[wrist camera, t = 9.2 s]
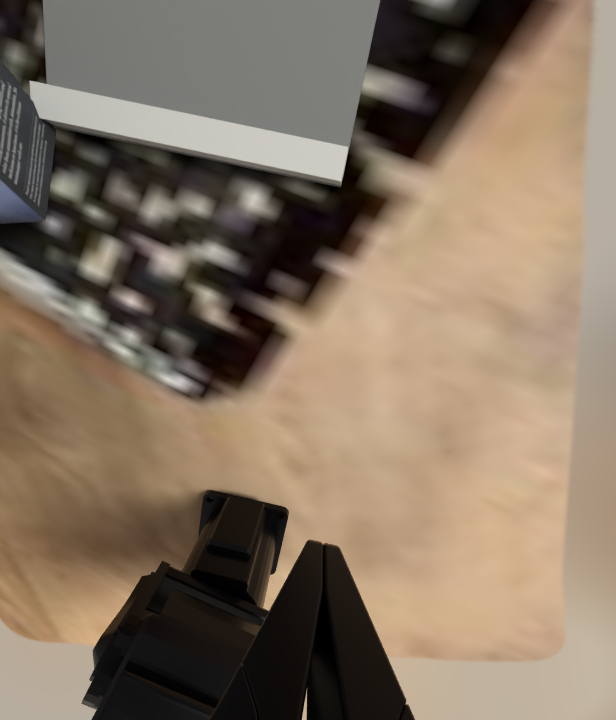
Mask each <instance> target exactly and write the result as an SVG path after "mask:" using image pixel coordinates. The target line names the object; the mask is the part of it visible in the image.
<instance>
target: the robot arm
mask: <svg viewBox="0 0 616 720" xmlns="http://www.w3.org/2000/svg"><path fill="white" fill-rule="evenodd" d="M209 497H211V498H212V499H211V498H209ZM281 514H284V515H281ZM288 515H289V511H288V510H287V509H286V508H284V507H281V506H277V505H272V504H268V503H264V502H259V501H255V500H251V499H246V498H242V497H238V496H233V495H229V494H225V493H220V492H216V491H207V492H206V493H205V495H204V497H203V504H202V512H201V520H200V528H199V536H198V540H197V542H196V544H195V546H194V548H193V550H192V552H191V554H190V556H189V558H188V560H187V562H186V564H185V566H184V568H183V570H182V572H181V571H179V570H177V569H175V568H173V567H170V564H168V563H166V562H164V561H162V563H161V564H160V566H159V567H158V569H157V571H156V572H155V573H154V572H152V573H151V574H150V575H146V576H142V577H141V579H140V580H139V582H138V584H137V585H136V587H135V589H134V590H133V592H132V593H131V595H130V597H129V598H128V600H127V601H126V603H125V604H124V606H123V607H122V609H121V610H120V611H119V613H118V614H117V615H116V617H115V618H114V620H113V621H112V622H111V624H110V625H109V626H108V628H107V629H106V630H105V632H104V633H103V634H102V636H101V637H100V639H99V641H98V642H97V644H96V646H95V647H94V650H93V659H94V671H93V673H92V675H91V677H90V679H89V680H90V681H92V683H91V685H90V687H89V689H88V691H87V693H86V695H85V697H84V699H83V701H82V704H84V705H87V706H89V707H91V708H94V709H96V710H97V711H96V712H95V714H94V716H93V718H92V720H302V714H303V708H304V702H305V696H306V690H307V720H415V719H414V716H413V714H412V712H411V709H410V707H409V705H407V704H406V698H405V696H404V694H403V691H402V689H401V687H400V685H399V682H398V680H397V678H396V675H395V673H394V671H393V669H392V666H391V664H390V662H389V659H388V657H387V655H386V653H385V650H384V648H383V646H382V643H381V641H380V639H379V637H378V634H377V632H376V630H375V628H374V625H373V623H372V621H371V618H370V616H369V614H368V612H367V609H366V607H365V605H364V602H363V600H362V598H361V596H360V593H359V591H358V589H357V586H356V584H355V582H354V580H353V577H352V575H351V573H350V570H349V568H348V566H347V564H346V561H345V559H344V557H343V554H342V552H341V550H340V548H339V547H338V546H336V545H332V544H327V543H325V544H322V542H319V541H314V540H308V541H307V542H306V544H305V546H304V548H303V550H302V551H301V553H300V555H299V557H298V559H297V561H296V562H295V564H294V566H293V568H292V570H291V572H290V574H289V575H288V577H287V579H286V581H285V583H284V585H283V586H282V588H281V590H280V592H279V594H278V596H277V598H276V599H275V601H274V603H273V605H272V607H271V609H270V610H269V611H268V610H266V609H263V606H264V601H265V596H266V591H267V587H268V582H269V577H270V575H271V574H274V573H275V571H276V567H277V563H278V558H279V554H280V550H281V546H282V541H283V537H284V533H285V528H286V524H287V520H288ZM405 704H406V705H405Z"/></svg>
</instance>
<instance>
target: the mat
mask: <svg viewBox="0 0 616 720" xmlns="http://www.w3.org/2000/svg"><path fill="white" fill-rule="evenodd" d="M379 3H380V0H43V14H44V36H45V58H46V79H47V84H43V83H38V82H34V81H30V96H31V99H32V101H33V102H34V105H35V107H36V110H37V112H38V115H39V118H41V119H42V120H44V121H46V122H48V123H50V124H52V126H54V127H56V128H60V129H65V130H70V131H74V132H79V133H84V134H89V135H93V136H98V137H103V138H108V139H112V140H117V141H122V142H127V143H131V144H136V145H141V146H146V147H150V148H155V149H160V150H165V151H169V152H174V153H179V154H184V155H188V156H193V157H198V158H203V159H207V160H212V161H217V162H222V163H226V164H231V165H236V166H241V167H245V168H250V169H255V170H260V171H264V172H269V173H274V174H279V175H283V176H288V177H293V178H298V179H302V180H307V181H312V182H317V183H321V184H326V185H331V186H336V187H340V188H341V184H342V179H343V174H344V169H345V165H346V160H347V155H348V150H349V146H350V141H351V136H352V131H353V127H354V122H355V117H356V112H357V108H358V103H359V98H360V93H361V89H362V84H363V79H364V74H365V70H366V65H367V60H368V56H369V51H370V46H371V41H372V37H373V32H374V27H375V22H376V18H377V13H378V8H379Z"/></svg>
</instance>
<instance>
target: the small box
mask: <svg viewBox="0 0 616 720" xmlns="http://www.w3.org/2000/svg"><path fill="white" fill-rule="evenodd" d="M55 137H56V129H55V128H54V127H53V126H52V124H50V123H48V122H46V121H44V120H42V119H41V118H39V115H38V112H37V110H36V107H35V105H34V102H33V101H32V99H31V98H30V97H29V95H28V94H27V93H26V92H25V91H24V89H23V88H22V86H21V85H20V84H19V82H18V81H17V79H16V78H15V76H14V75H13V74H12V73H11V71H10V70H9V69H8V67H7V66H6V65H5V63H4V62H3V61H2V60H1V59H0V224H5V223H23V222H43V221H45V219H46V215H47V205H48V198H49V190H50V182H51V174H52V165H53V155H54V147H55Z"/></svg>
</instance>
